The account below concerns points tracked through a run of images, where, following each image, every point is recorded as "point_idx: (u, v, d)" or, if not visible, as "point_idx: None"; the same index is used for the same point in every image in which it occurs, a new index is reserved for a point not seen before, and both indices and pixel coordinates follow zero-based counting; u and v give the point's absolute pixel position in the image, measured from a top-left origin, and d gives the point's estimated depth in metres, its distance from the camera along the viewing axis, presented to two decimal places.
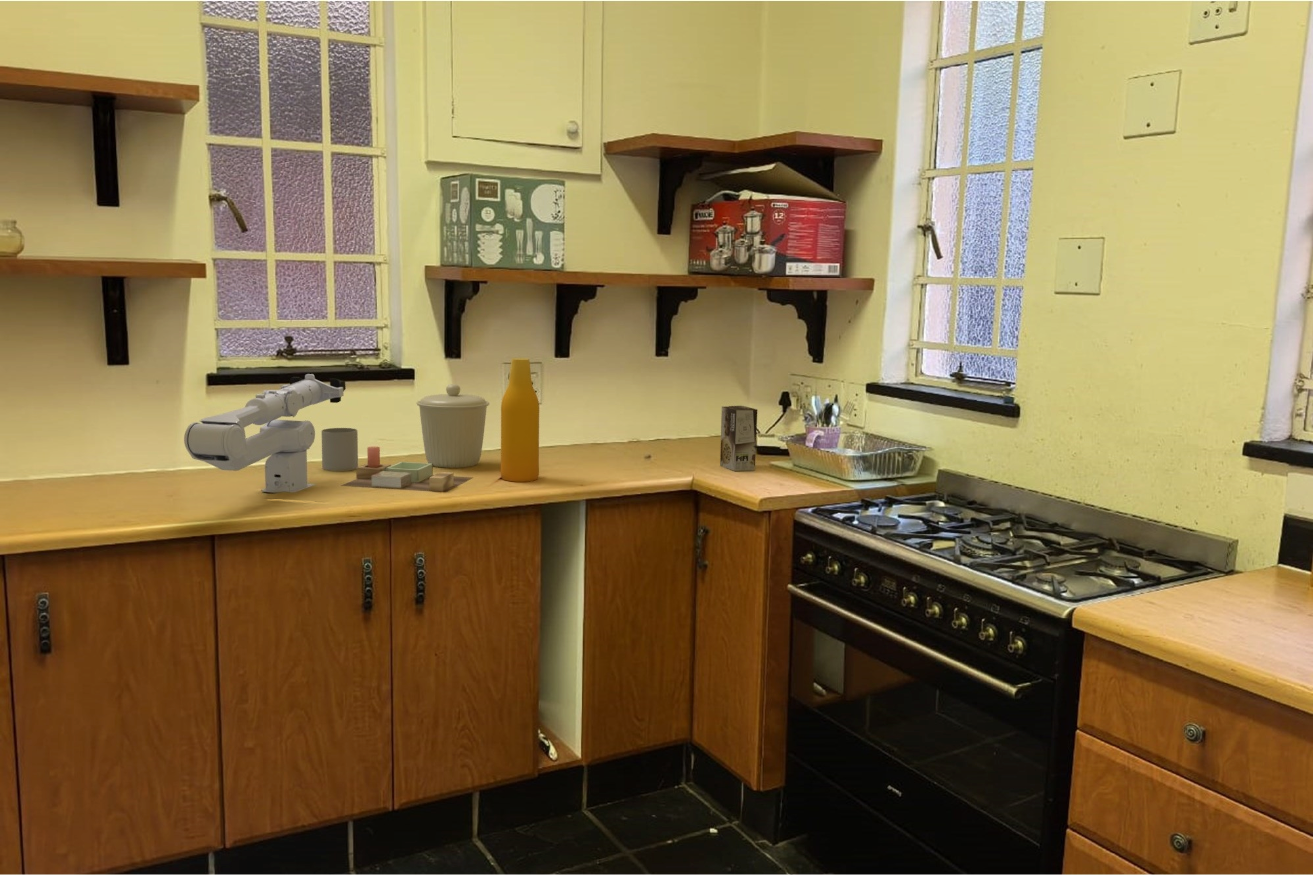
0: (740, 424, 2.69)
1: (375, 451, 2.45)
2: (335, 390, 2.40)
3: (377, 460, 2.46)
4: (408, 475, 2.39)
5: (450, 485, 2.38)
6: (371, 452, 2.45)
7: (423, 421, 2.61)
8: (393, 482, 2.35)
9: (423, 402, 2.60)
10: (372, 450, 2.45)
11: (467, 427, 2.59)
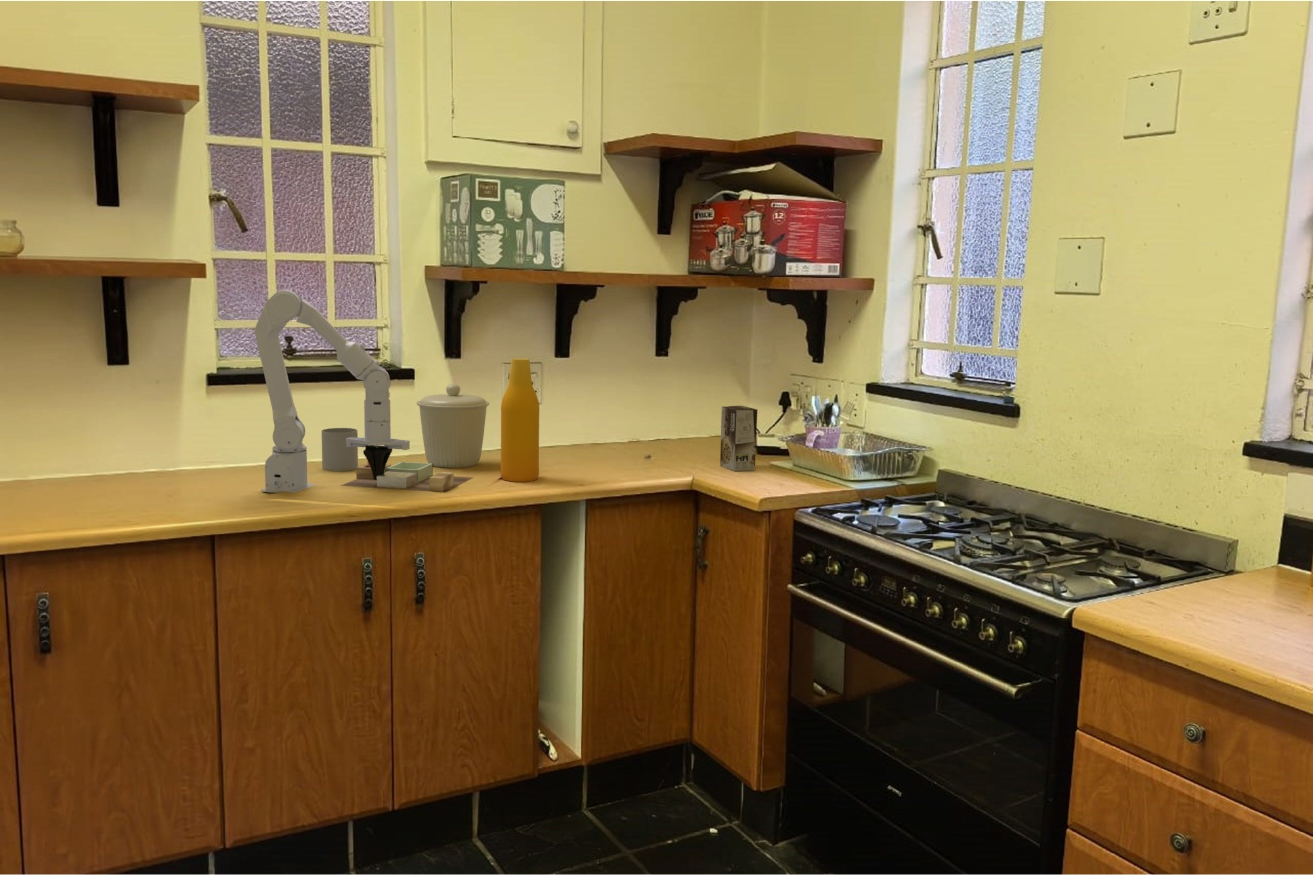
0: (740, 424, 2.69)
1: None
2: None
3: None
4: (413, 475, 2.39)
5: (450, 485, 2.38)
6: None
7: (423, 421, 2.61)
8: (398, 482, 2.35)
9: (423, 402, 2.60)
10: None
11: (467, 427, 2.59)
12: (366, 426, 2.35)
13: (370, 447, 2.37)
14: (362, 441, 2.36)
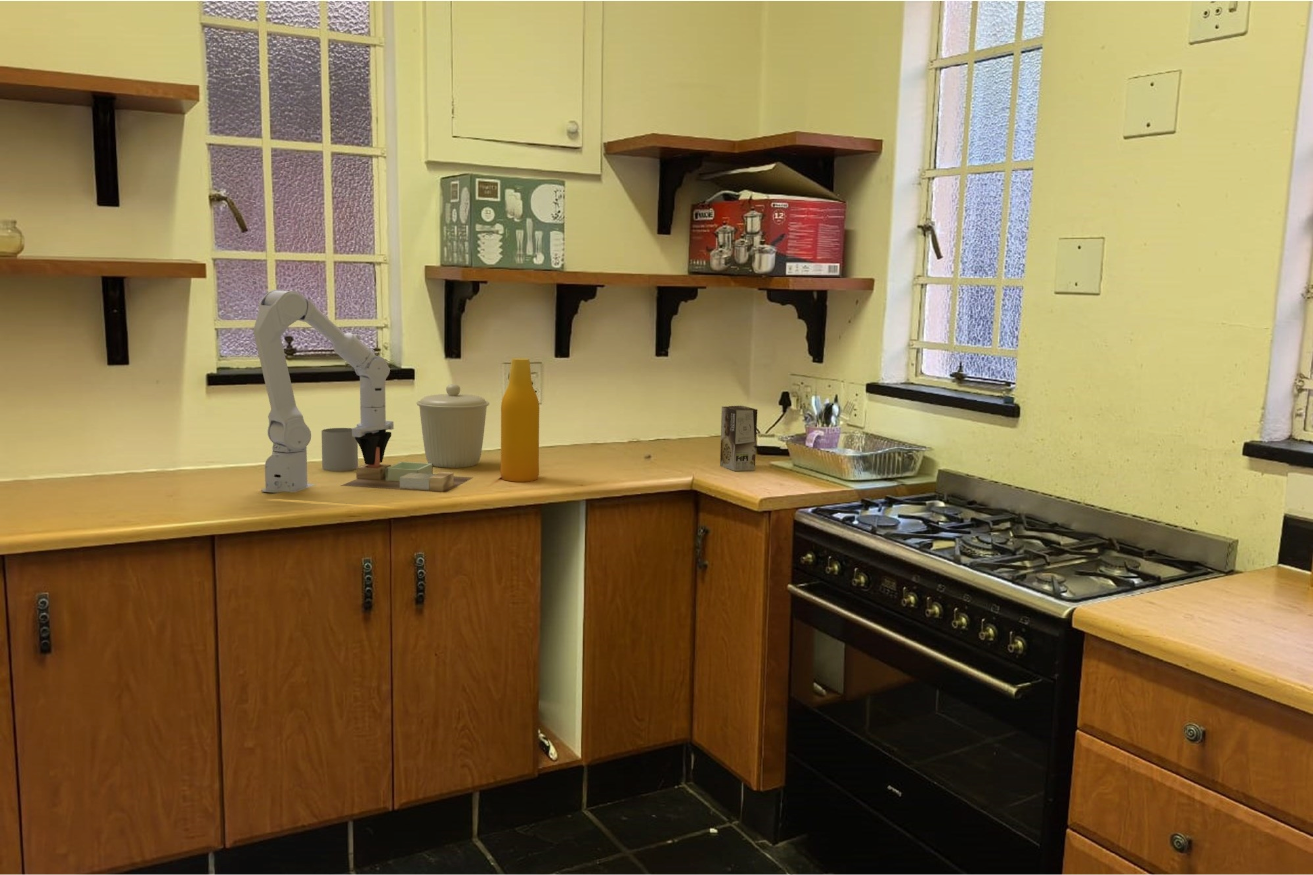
0: (740, 424, 2.69)
1: None
2: (385, 423, 2.52)
3: (377, 460, 2.46)
4: None
5: (450, 485, 2.38)
6: None
7: (423, 421, 2.61)
8: (421, 484, 2.34)
9: (423, 402, 2.60)
10: None
11: (467, 427, 2.59)
12: (377, 412, 2.43)
13: (373, 433, 2.44)
14: (375, 427, 2.43)
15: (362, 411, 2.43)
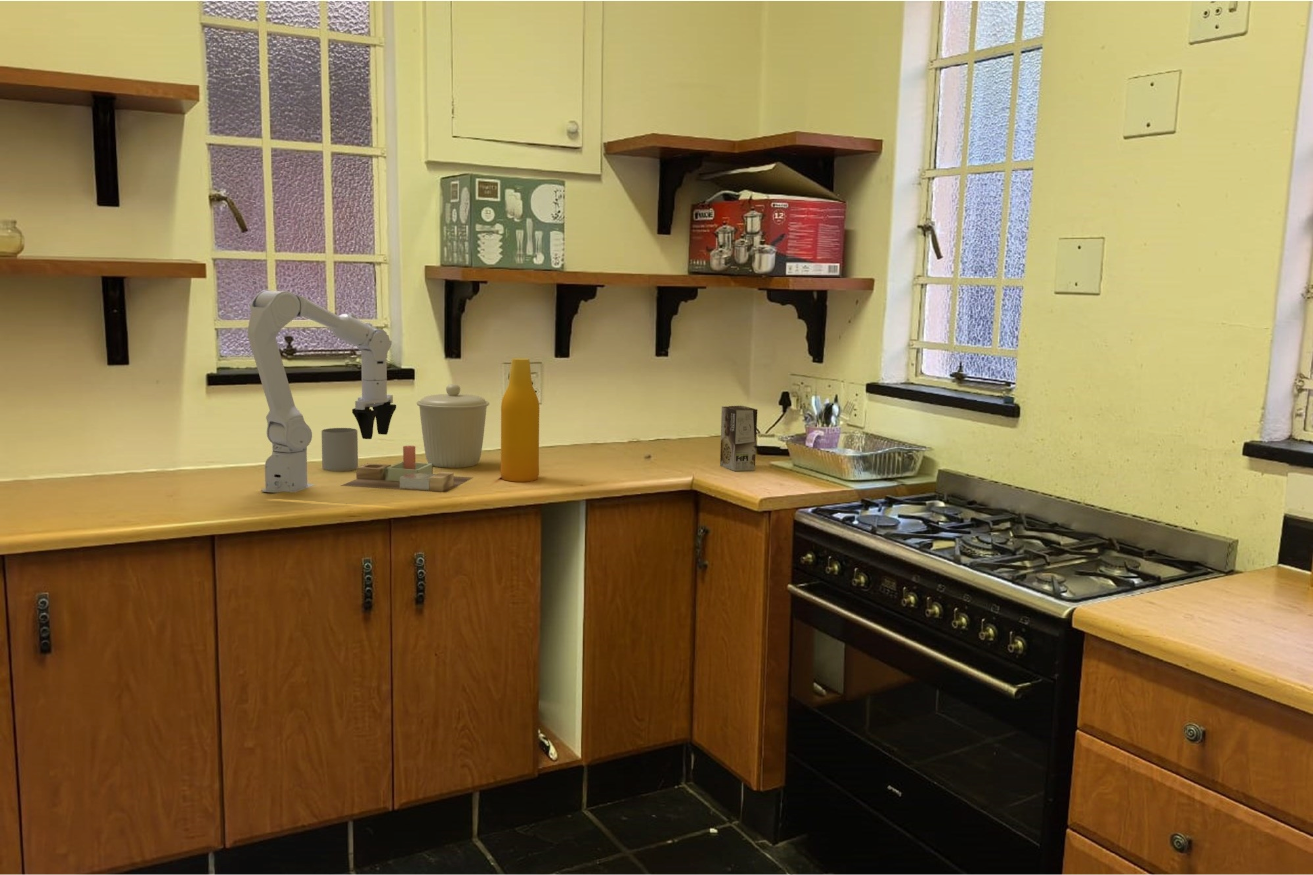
0: (740, 424, 2.69)
1: (409, 450, 2.45)
2: None
3: (412, 459, 2.45)
4: None
5: (450, 485, 2.38)
6: (405, 451, 2.45)
7: (423, 421, 2.61)
8: (421, 484, 2.34)
9: (423, 402, 2.60)
10: (407, 449, 2.45)
11: (467, 427, 2.59)
12: (380, 385, 2.44)
13: (374, 406, 2.46)
14: (377, 400, 2.44)
15: (364, 384, 2.44)
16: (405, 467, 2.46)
